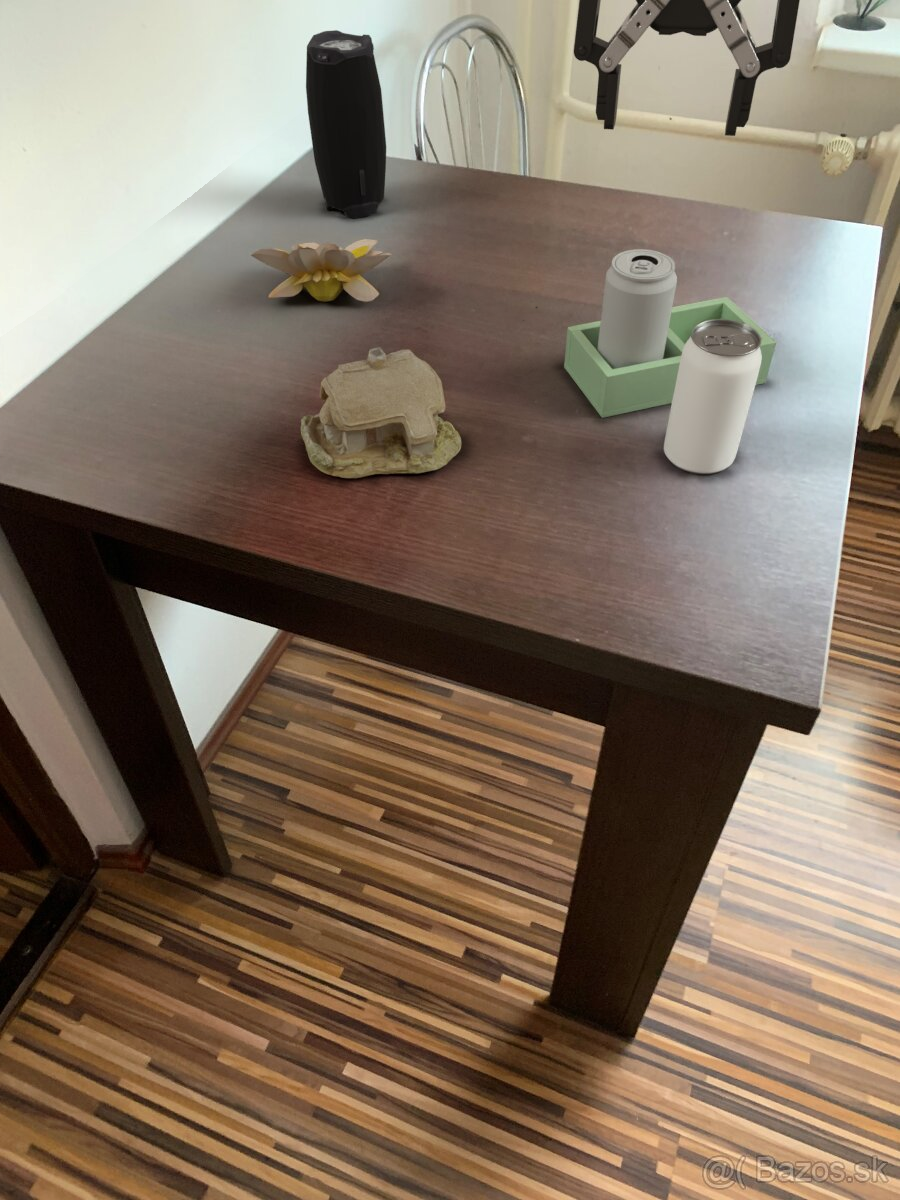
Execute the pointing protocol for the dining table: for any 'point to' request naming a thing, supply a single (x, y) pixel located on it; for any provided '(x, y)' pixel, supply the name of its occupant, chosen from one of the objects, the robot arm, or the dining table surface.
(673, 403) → the can
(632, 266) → the beverage can
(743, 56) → the robot arm
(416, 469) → the ceramic model
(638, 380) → the cup holder
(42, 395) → the dining table surface
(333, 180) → the portable speaker
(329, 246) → the decorative flower
